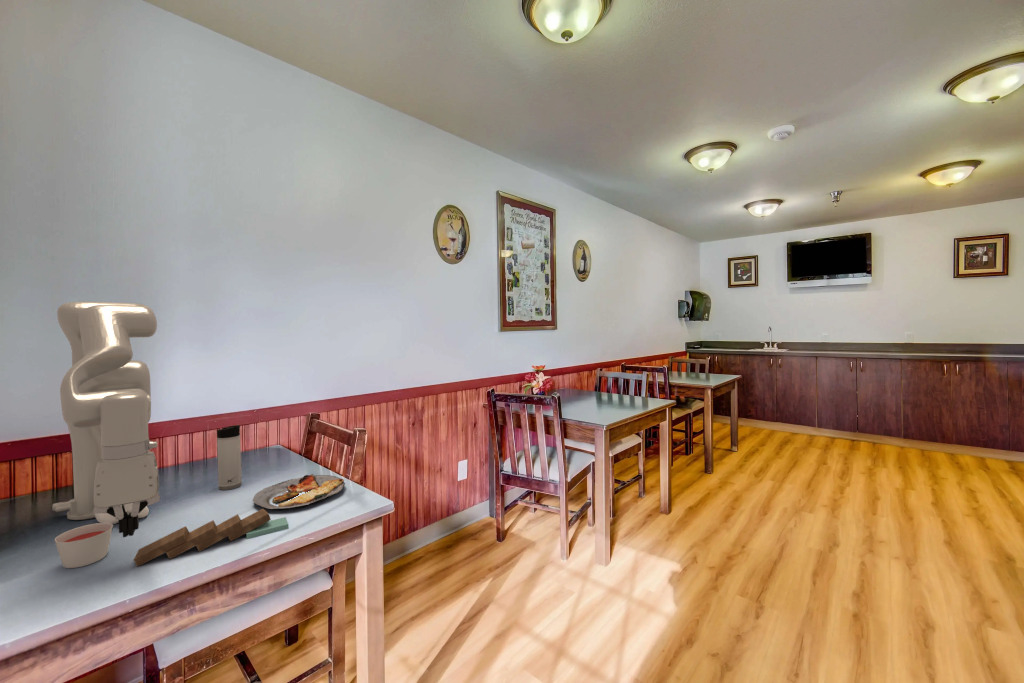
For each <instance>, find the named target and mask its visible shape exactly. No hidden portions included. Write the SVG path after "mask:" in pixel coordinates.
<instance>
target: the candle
mask: <svg viewBox="0 0 1024 683" xmlns="http://www.w3.org/2000/svg"><path fill="white" fill-rule="evenodd" d="M113 527H114V524H111V523H100V522H98V523H97V522H96V523H90V524H87V525H82V526H79V527H75V528H73V529H69V530H67V531H64V532H62V533H61V534H58V535H57V536H56V537H55V539H54V543H55V547H56V550H57V552H58V553H57V554H58V557H59V558H60V561H61V564H62V567H63V568H66V569H74V568H75V569H76V568H81V567H85V566H88V565H91V564H93V563H96V562H98V561H101V560H102V559H104V558H106V557H107V555H108V552H109V549H110V542H111V539H112V538H111V537H112V532H113Z"/></svg>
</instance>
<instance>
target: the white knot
mask: <svg viewBox="0 0 1024 683" xmlns="http://www.w3.org/2000/svg"><path fill="white" fill-rule="evenodd" d="M132 504H133V503H130V504H125V505H124V506H125V510H126V512H127V514H128V515H129V516H130V513H131V511H132ZM149 512H150V510H149V508H148V506H146V507H145V508H144V509H143V510H142V511H141V512H140V513H139V514H138V519H142V518H145V517H147V516H148V514H149ZM94 514H95V513H94ZM95 517H96V518H95V519H96V521H97V522H98V523H111V524H112V525H115V524H119V520H117V519H116V517H114V516H112V515H110V514H108V513H105V514H95Z"/></svg>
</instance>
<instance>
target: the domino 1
mask: <svg viewBox="0 0 1024 683" xmlns="http://www.w3.org/2000/svg"><path fill="white" fill-rule="evenodd" d="M189 532H190V531H189V529H188V528H187V526H184V527H181V528H179V529H177V530H175V531H173V532H171V533H169V534H167V535H165V536H163V537H160V538H159V539H157V540H155V541H154V542H151V543H149V544H147V545H145V546H143V547H141V548H139V549H138V551H137V552H136V554H135V556H134V558H133V561H134V564H135V565H136V567H140V566H142V565H143V564H145V563H147V562H150V561H151V560H153V559H156V558H157V557H160V556H161V555H163V554H166V552H167V551H169V550H171V549H173V548H175V547H177V546H179V545H181V544H183V543H185V542H187V539H188V535H189Z"/></svg>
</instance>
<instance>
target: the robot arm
mask: <svg viewBox="0 0 1024 683" xmlns="http://www.w3.org/2000/svg"><path fill="white" fill-rule="evenodd" d="M56 317H57V322H58V324H59V327H60V329H61V331H62V332H63V333H64V335H65V337H66V338H67V341H68V342H69V345H70V349H71V364H72V365H71V367H70V368H69V369H68V370H67V371H66V373H65V375H63V378H62V381H61V383H60V387H59V388H60V391H59V394H60V404H61V412H62V417H63V421H64V422H65V424H66V425H67V427H68V431H69V436H70V442H71V451H72V472H73V474H72V475H73V476H72V477H73V494H74V498H72V499H69V501H61V502H56V503H53V504H52V505H51V506H52V511H53V512H54V511H55V512H56V513H58V512H63V511H67V510H68V512H67V513H66V518H67V519H68V520H70V521H71V520H74V521H80V520H82V521H83V520H89V519H96V517H95V514H105V513H108V514H110V515H112V516H114V517H116V519H117V520H119V522H118V534H122V537H123V538H127V537H128V536H129V537H131V536H134V534H135V531H136V530H139V528H140V526H139V525H140V524H139V523H140V522H139V519H140V518H138V514H139V513H140V512H141V511H142V510H143V509H144V508H145V507H146V506H147V507H148V506H150V505H153V504H156V503H158V502H160V500H161V495H160V492H159V491H160V479H159V468H158V462H157V459H156V455H155V453H154V451H151V450H152V449H153V448H154V449H156V448H158V441H157V440H156V441H153V440H152V441H151V440H150V438H149V437H150V436H149V422H150V421H151V417H152V415H151V414H152V401H151V400H152V398H151V397H152V396H151V395H152V394H151V391H152V390H151V389H152V388H151V373H150V370H149V369H150V368H149V367H148V365H147V364H146V363H145V362H144V361H141V360H138V359H133V356H134V354H133V350H132V345H131V341H130V340H131V339H130V338H150V337H153V336H154V335H155V334H156V332H157V328H158V322H157V318H156V317H157V316H156V313H155V312H154V311H153V309H151V308H150V307H149V306H148V305H145V304H142V303H135V302H134V303H133V302H112V301H111V302H110V301H109V302H107V301H71V302H65V303H62V304H61V305H60V306H59V307H58V308H57V312H56ZM130 503H133V504H132V511H131V513H130V514H129V515H128V514H127V512H126V510H125V506H124V505H125V504H130ZM94 513H95V514H94Z"/></svg>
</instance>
